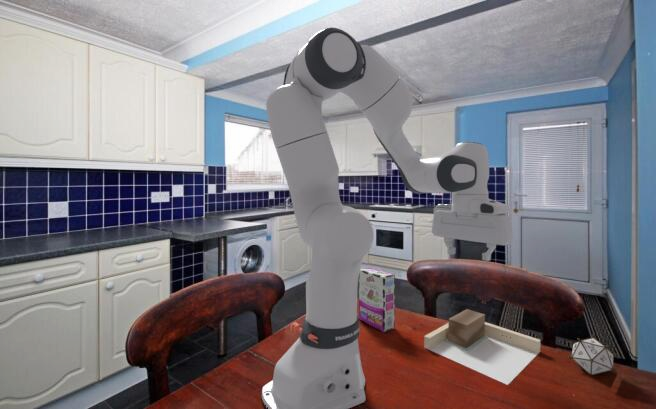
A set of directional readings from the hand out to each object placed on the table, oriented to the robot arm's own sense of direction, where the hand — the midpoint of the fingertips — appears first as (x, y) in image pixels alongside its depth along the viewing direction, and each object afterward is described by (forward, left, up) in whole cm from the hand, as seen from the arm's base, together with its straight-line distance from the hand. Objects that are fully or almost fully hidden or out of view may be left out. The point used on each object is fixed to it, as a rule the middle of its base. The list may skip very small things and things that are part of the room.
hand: (468, 257), depth 84 cm
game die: (+8, -25, -24) cm, 35 cm away
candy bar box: (-10, +23, -24) cm, 35 cm away
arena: (-2, -5, -23) cm, 24 cm away
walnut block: (0, 0, -22) cm, 22 cm away
